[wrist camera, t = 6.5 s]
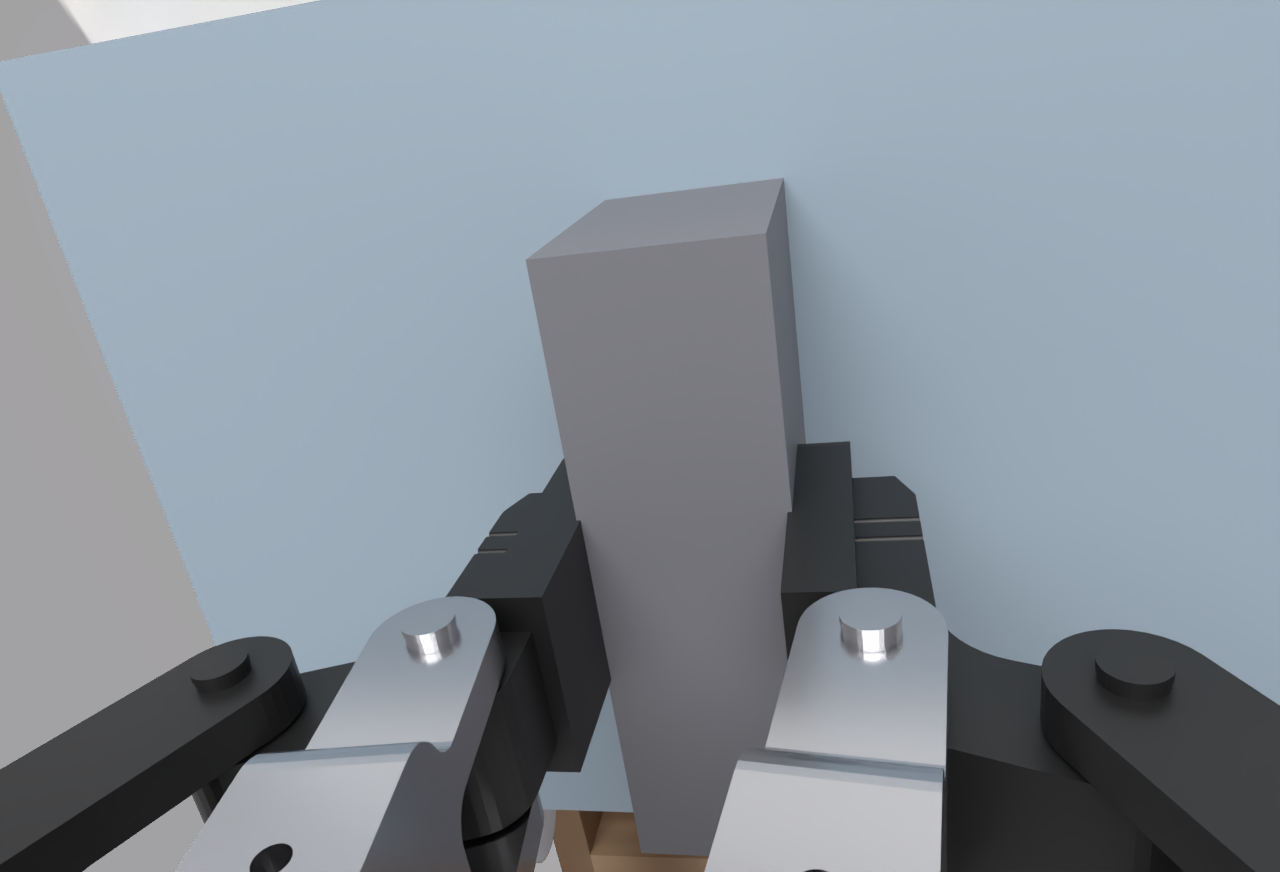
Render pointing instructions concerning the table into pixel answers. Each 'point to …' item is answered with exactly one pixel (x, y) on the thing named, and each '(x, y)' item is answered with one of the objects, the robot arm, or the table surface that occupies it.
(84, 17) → the table surface
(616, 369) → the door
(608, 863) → the brown wooden open box
